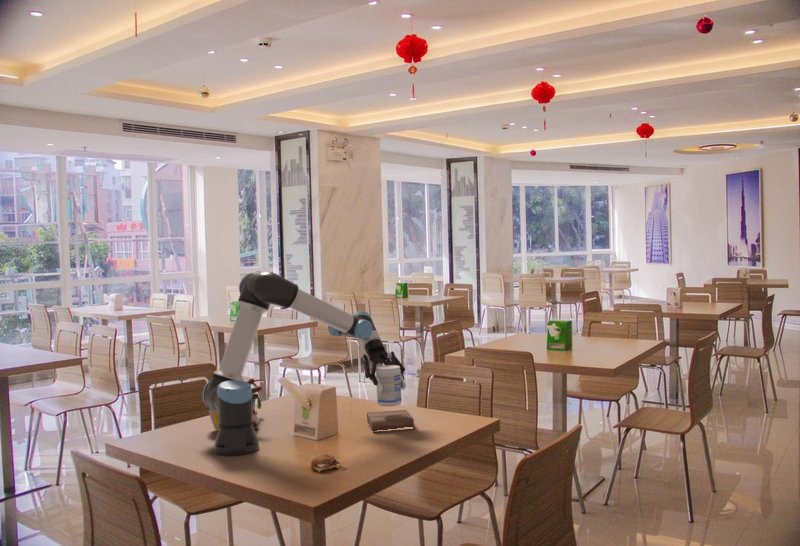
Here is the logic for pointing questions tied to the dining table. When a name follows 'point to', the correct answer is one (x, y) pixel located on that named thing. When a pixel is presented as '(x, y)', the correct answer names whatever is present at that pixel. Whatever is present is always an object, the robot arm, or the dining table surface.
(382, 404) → the supplement tub
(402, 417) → the walnut stand
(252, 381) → the bucket of meat
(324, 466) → the hamburger
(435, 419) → the dining table surface
